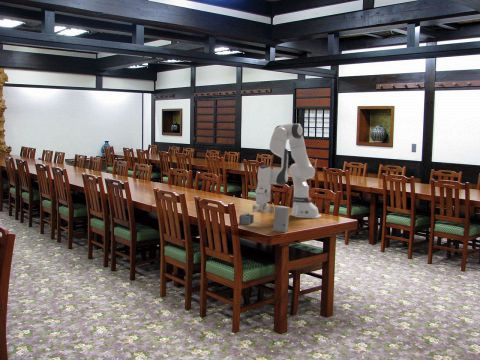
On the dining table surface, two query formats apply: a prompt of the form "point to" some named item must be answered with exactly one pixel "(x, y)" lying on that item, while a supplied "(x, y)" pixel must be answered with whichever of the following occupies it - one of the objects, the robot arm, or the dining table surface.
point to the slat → (266, 209)
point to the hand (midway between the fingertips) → (263, 209)
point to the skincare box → (281, 218)
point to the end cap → (246, 218)
